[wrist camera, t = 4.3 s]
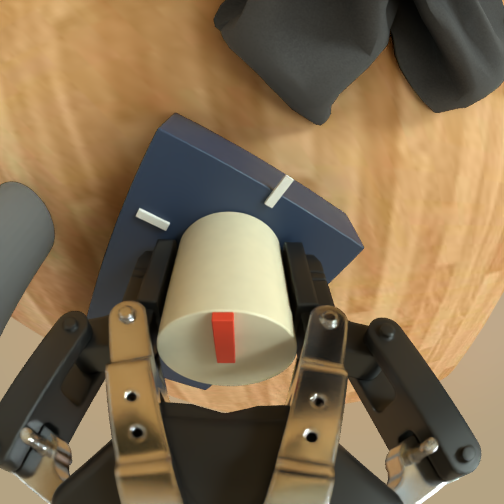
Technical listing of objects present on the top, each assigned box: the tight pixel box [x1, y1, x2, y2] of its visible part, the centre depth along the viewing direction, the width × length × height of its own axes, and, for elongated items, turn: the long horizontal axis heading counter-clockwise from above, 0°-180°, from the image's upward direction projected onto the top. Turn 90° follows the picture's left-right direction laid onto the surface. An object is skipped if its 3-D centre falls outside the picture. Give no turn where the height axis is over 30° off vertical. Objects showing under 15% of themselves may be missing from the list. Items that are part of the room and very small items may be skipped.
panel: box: [87, 113, 364, 390], centre depth 16 cm, size 17×10×3 cm, turn 147°
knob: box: [156, 212, 297, 386], centre depth 11 cm, size 4×4×5 cm
